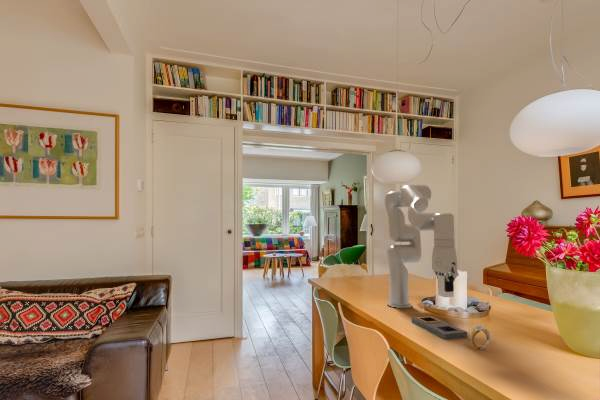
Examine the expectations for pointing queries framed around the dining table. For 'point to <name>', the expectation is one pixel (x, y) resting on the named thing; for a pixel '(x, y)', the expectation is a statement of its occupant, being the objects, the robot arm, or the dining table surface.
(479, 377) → the dining table surface
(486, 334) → the bracelet
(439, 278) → the peg
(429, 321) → the dark grey socket board
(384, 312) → the dining table surface
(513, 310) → the dining table surface
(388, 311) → the dining table surface
